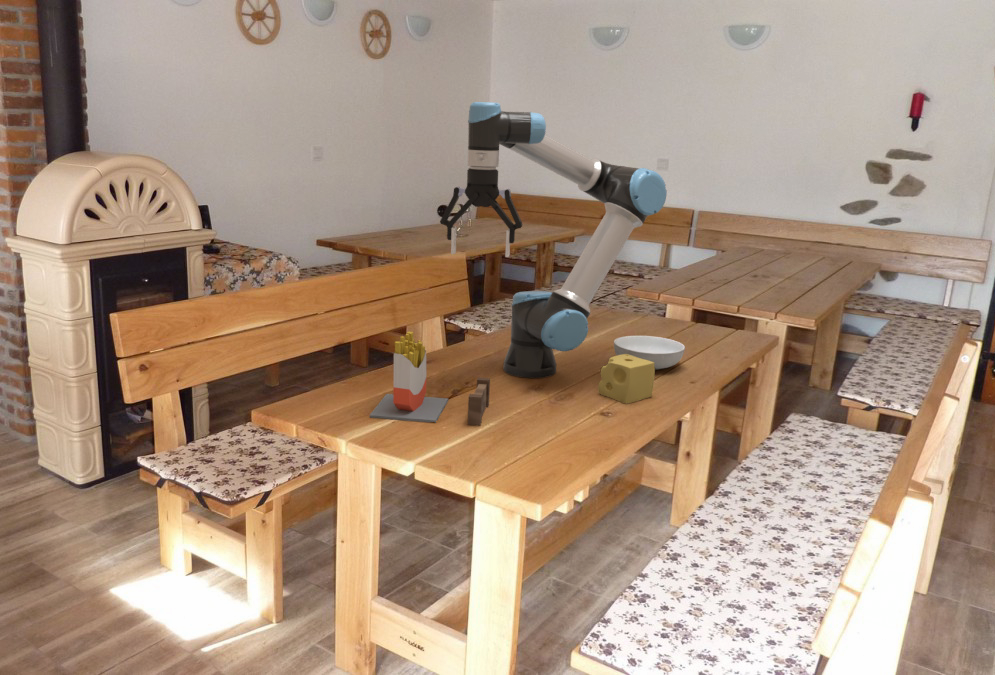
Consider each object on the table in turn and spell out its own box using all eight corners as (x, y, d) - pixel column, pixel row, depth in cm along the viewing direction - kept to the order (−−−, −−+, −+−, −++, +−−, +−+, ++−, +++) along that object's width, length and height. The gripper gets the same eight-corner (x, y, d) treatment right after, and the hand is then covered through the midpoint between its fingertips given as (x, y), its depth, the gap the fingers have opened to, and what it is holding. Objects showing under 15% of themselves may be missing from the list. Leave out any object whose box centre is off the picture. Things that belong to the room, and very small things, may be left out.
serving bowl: (689, 362, 253) (691, 340, 251) (673, 380, 234) (675, 357, 233) (623, 352, 261) (625, 331, 259) (602, 369, 243) (604, 346, 241)
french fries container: (427, 401, 208) (428, 331, 203) (410, 415, 198) (411, 342, 193) (410, 398, 209) (411, 329, 204) (393, 412, 199) (393, 340, 194)
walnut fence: (477, 403, 209) (478, 377, 207) (488, 404, 209) (490, 378, 207) (467, 424, 195) (468, 396, 193) (480, 425, 194) (481, 397, 193)
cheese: (597, 394, 220) (600, 358, 218) (624, 387, 227) (627, 352, 224) (627, 405, 213) (630, 368, 210) (654, 397, 219) (657, 361, 217)
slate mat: (386, 395, 212) (386, 393, 212) (448, 400, 210) (448, 398, 210) (369, 417, 197) (369, 415, 197) (435, 422, 195) (435, 420, 195)
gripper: (429, 166, 199) (428, 254, 205) (532, 171, 196) (528, 259, 202) (435, 165, 206) (434, 249, 212) (535, 169, 204) (531, 255, 209)
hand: (480, 254), depth 207 cm, fingers open, 13 cm apart
